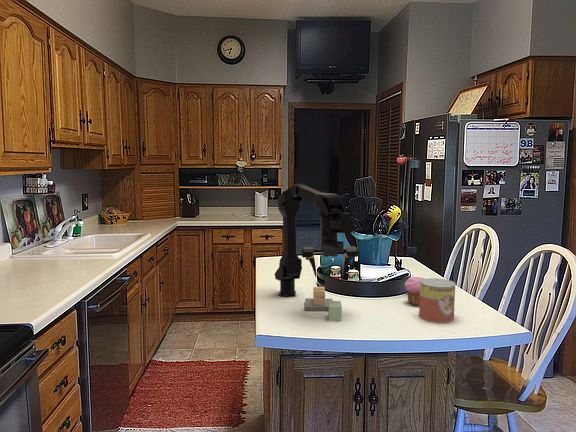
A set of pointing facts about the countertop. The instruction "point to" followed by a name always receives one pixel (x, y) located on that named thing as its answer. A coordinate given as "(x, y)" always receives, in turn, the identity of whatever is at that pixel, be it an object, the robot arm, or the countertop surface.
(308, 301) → the grey baseplate
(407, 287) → the cupcake
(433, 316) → the canned food
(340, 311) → the sage brick
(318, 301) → the oak brick
